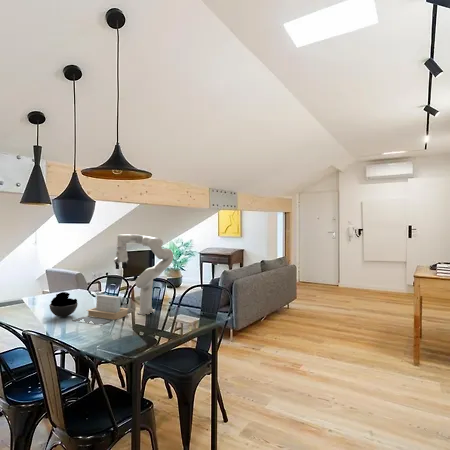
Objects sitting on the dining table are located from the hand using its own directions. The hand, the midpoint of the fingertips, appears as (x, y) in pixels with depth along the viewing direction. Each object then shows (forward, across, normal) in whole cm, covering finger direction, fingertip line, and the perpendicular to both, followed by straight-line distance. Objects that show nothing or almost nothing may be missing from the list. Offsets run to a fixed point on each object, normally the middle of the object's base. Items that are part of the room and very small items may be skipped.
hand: (121, 268), depth 287 cm
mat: (+36, -36, -3) cm, 51 cm away
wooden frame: (+36, -18, -3) cm, 40 cm away
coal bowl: (+36, -36, +26) cm, 57 cm away
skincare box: (+36, -18, -3) cm, 40 cm away
